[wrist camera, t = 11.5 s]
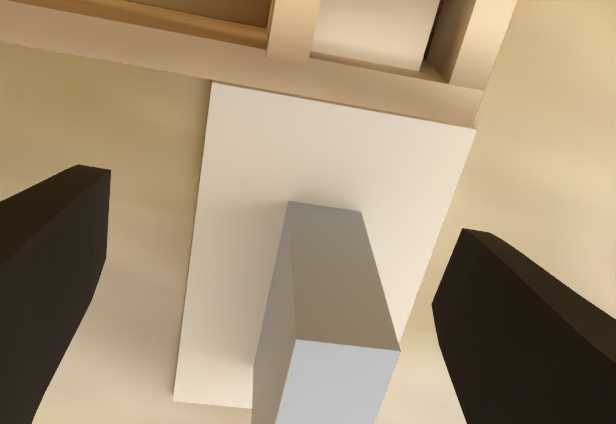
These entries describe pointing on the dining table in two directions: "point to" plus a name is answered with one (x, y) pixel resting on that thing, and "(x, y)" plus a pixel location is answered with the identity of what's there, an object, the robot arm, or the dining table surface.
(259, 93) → the beige panel
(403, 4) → the offcut block
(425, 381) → the dining table surface
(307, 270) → the tall block
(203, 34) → the wooden tray
